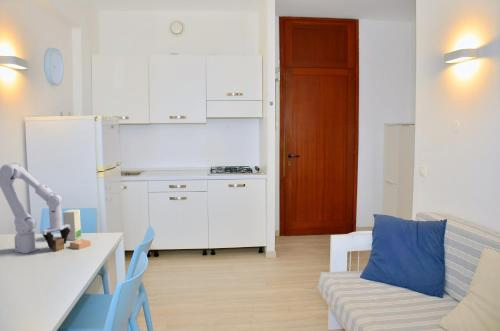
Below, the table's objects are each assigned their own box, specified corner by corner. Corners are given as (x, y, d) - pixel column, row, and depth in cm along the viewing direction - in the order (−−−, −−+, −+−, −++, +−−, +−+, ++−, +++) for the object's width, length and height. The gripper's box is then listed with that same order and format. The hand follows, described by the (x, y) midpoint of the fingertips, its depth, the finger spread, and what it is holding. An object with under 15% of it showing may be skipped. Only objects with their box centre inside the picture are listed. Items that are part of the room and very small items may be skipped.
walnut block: (50, 250, 210) (49, 239, 210) (58, 248, 214) (57, 237, 214) (56, 251, 208) (55, 240, 208) (64, 249, 212) (63, 238, 212)
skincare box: (75, 240, 228) (74, 212, 226) (63, 240, 228) (61, 212, 227) (81, 236, 236) (80, 208, 235) (70, 236, 236) (68, 209, 235)
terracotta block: (70, 248, 215) (69, 242, 215) (81, 244, 221) (81, 239, 221) (79, 250, 212) (79, 244, 211) (90, 246, 218) (90, 240, 217)
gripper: (48, 222, 201) (49, 250, 203) (73, 216, 214) (75, 242, 216) (38, 221, 205) (40, 248, 206) (64, 215, 217) (65, 241, 219)
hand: (57, 245), depth 211 cm, fingers open, 7 cm apart
